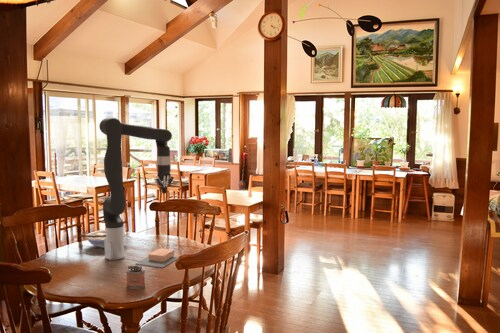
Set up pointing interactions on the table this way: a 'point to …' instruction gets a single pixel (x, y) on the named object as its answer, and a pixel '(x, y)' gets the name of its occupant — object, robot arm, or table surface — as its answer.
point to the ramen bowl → (97, 238)
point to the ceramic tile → (161, 255)
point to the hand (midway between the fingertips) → (164, 193)
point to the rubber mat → (156, 264)
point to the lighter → (135, 277)
